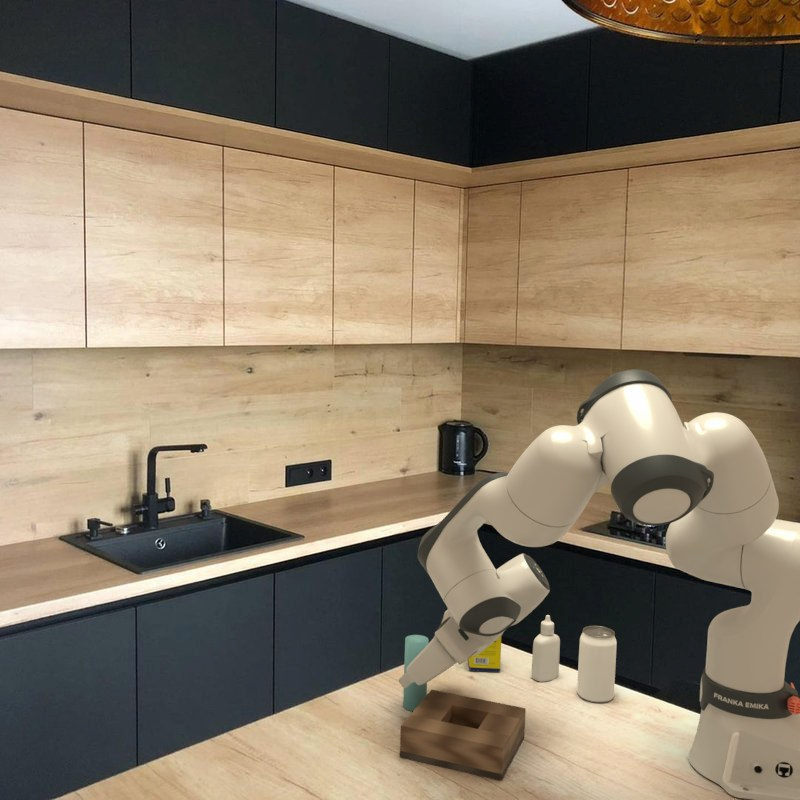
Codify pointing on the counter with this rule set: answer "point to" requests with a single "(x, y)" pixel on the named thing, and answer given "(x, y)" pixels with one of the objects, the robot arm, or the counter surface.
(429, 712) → the walnut holder
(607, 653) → the can
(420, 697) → the teal pin
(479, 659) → the supplement box
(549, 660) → the eye dropper bottle
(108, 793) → the counter surface
